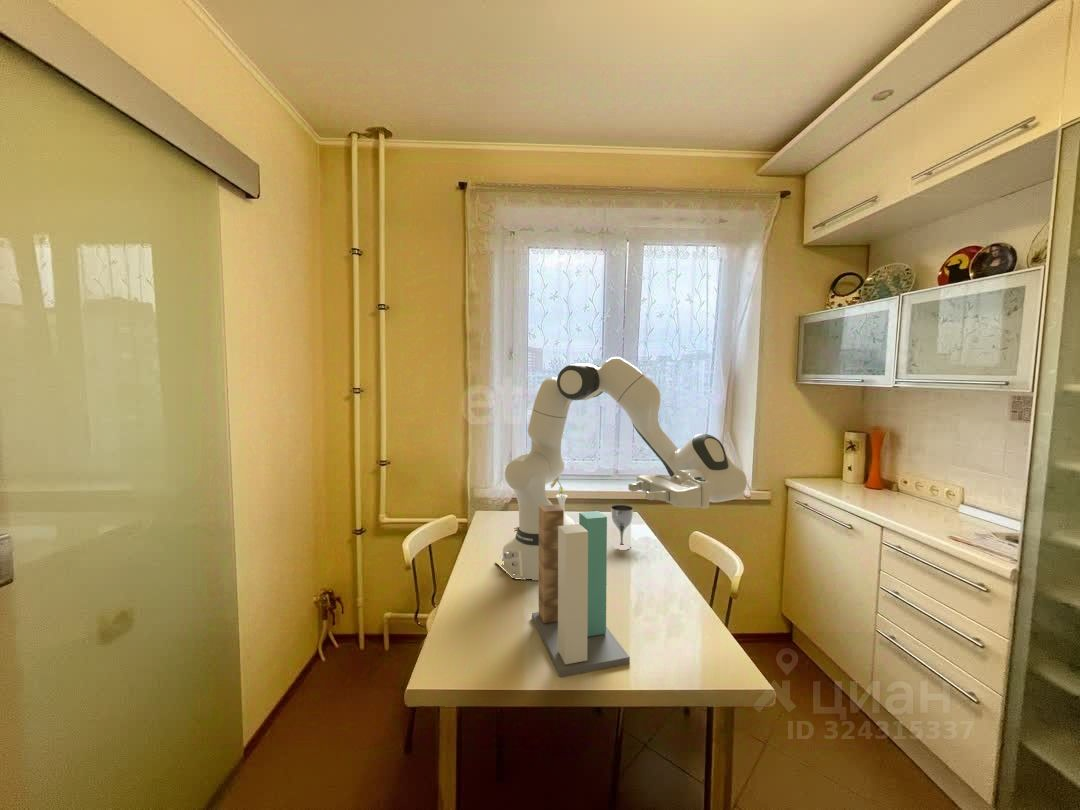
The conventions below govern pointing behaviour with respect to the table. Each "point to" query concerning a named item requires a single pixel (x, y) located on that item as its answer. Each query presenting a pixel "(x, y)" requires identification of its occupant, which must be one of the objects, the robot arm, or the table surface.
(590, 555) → the teal post
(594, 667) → the board
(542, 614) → the walnut post
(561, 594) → the cream post
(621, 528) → the wine glass
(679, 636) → the table surface
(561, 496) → the flower in vase
